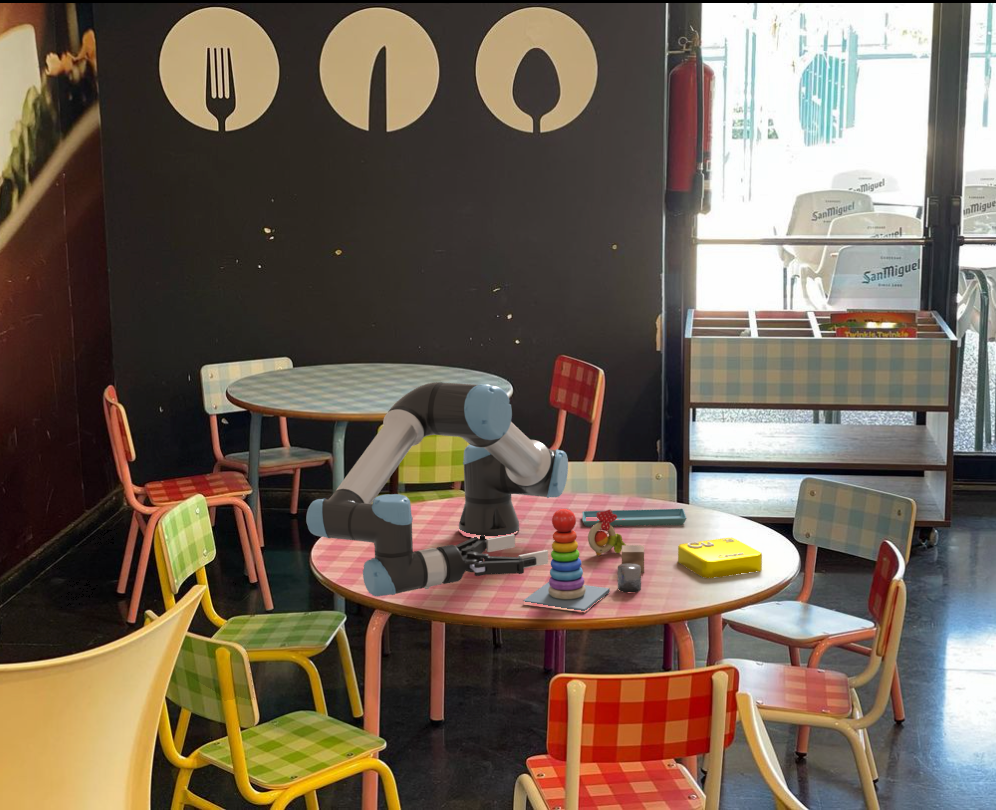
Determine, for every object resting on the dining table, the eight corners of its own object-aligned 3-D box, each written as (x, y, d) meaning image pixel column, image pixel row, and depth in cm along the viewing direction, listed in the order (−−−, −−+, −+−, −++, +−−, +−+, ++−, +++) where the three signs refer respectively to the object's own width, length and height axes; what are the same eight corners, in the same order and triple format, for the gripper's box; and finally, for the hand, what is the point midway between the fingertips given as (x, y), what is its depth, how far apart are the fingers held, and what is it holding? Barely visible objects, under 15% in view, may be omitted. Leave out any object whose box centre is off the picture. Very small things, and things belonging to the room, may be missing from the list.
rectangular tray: (582, 528, 337) (582, 519, 337) (582, 518, 346) (582, 509, 345) (686, 527, 336) (686, 518, 335) (683, 517, 345) (683, 508, 344)
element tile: (705, 581, 294) (705, 560, 294) (674, 562, 308) (674, 542, 307) (765, 572, 299) (765, 551, 298) (732, 554, 313) (732, 534, 312)
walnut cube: (621, 573, 300) (621, 551, 299) (622, 566, 305) (622, 545, 304) (644, 573, 300) (643, 552, 299) (644, 566, 305) (644, 545, 304)
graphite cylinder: (614, 591, 288) (614, 569, 287) (622, 584, 293) (622, 562, 292) (636, 594, 286) (635, 571, 285) (644, 587, 290) (644, 565, 289)
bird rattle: (607, 567, 311) (635, 545, 315) (591, 528, 307) (619, 507, 311) (591, 560, 316) (618, 539, 320) (575, 522, 312) (603, 501, 316)
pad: (523, 605, 281) (523, 600, 281) (550, 584, 293) (550, 580, 293) (584, 613, 275) (584, 609, 275) (609, 592, 287) (609, 588, 287)
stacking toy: (586, 588, 287) (585, 504, 284) (585, 601, 279) (583, 514, 276) (549, 588, 288) (547, 504, 284) (547, 600, 280) (545, 514, 277)
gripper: (413, 567, 279) (501, 550, 289) (468, 601, 257) (562, 581, 267) (411, 533, 277) (500, 517, 287) (467, 564, 256) (561, 545, 266)
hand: (530, 548), depth 277 cm, fingers open, 13 cm apart
